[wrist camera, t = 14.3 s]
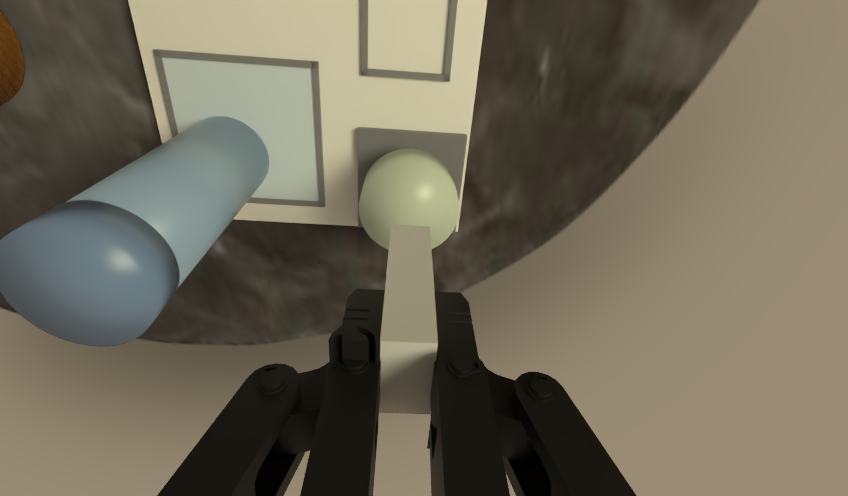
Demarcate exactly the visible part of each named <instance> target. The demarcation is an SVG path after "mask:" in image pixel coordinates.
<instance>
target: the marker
mask: <svg viewBox="0 0 848 496" xmlns="http://www.w3.org/2000/svg"><path fill="white" fill-rule="evenodd" d="M268 170H269V156H268V152H267V149H266V147H265V144H264V143H263V141H262V139H261V138H260V137H259V135H258V134H257V133H256V132H255V131H254V130H253V129H252V128H250V127H249V126H248V125H246V124H245V123H243V122H241V121H239V120H237V119H234V118H230V117H225V116H214V117H209V118H206V119H204V120H202V121H200V122H198V123H197V124H195V125H193V126H192V127H190V128H188V129H187V130H185V131H183V132H182V133H180V134H178V135H177V136H175V137H173V138H172V139H170V140H168V141H167V142H165V143H163V144H162V145H160V146H158V147H157V148H155V149H153V150H151V151H150V152H148V153H146V154H145V155H143V156H141V157H140V158H138V159H136V160H135V161H133V162H131V163H130V164H128V165H126V166H125V167H123V168H121V169H120V170H118V171H116V172H115V173H113V174H111V175H110V176H108V177H106V178H105V179H103V180H101V181H100V182H98V183H96V184H95V185H93V186H91V187H90V188H88V189H86V190H85V191H83V192H81V193H80V194H78V195H76V196H75V197H73V198H71V199H70V200H68V201H66V202H65V203H61V204H59V205H57V206H55V207H53V208H51V209H49V210H48V211H46V212H44V213H43V214H41V215H39V216H38V217H36V218H34V219H33V220H31V221H29V222H27V223H26V224H24V225H22V226H21V227H19V228H17V229H16V230H14V231H12V232H11V233H9V234H8V235H6V236H5V237H3V238H2V240H1V241H0V292H1V294H2V295H3V297H4V298H5V299H6V301H7V302H8V303H9V304H10V305H11V306H12V307H13V308H14V310H15V311H17V312H18V313H19V314H20V315H21V316H22V317H24V318H25V319H26V320H28V321H29V322H30V323H32V324H34V325H35V326H37V327H38V328H40V329H42V330H43V331H45V332H47V333H49V334H51V335H54V336H56V337H58V338H61V339H64V340H67V341H70V342H74V343H78V344H83V345H88V346H115V345H120V344H125V343H127V342H130V341H132V340H134V339H136V338H138V337H139V336H141V335H142V334H143V333H144V332H145V331H146V330H147V329H148V328H149V326H150V325H151V324H152V323H153V321H154V320H155V319H156V318H157V316H158V315H159V314H160V313H161V311H162V310H163V309H164V307H165V306H166V305H167V304H168V302H169V301H170V300H171V299H172V297H173V296H174V294H175V293H176V291H177V289H178V287H179V286H180V285H181V284H182V282H183V281H184V280H185V279H186V277H187V276H188V275H189V274H190V272H191V271H192V270H193V269H194V267H195V266H196V265H197V264H198V262H199V261H200V260H201V259H202V257H203V256H204V255H205V254H206V252H207V251H208V250H209V249H210V247H211V246H212V245H213V244H214V242H215V241H216V240H217V239H218V237H219V236H220V235H221V234H222V232H223V231H224V230H225V229H226V227H227V226H228V225H229V224H230V222H231V221H232V220H233V219H234V217H235V216H236V215H237V213H238V212H239V211H240V210H241V208H242V207H243V206H244V205H245V203H246V202H247V201H248V200H249V198H250V197H251V196H252V195H253V193H254V192H255V191H256V190H257V188H258V187H259V186H260V185H261V183H262V182H263V181H264V179H265V178H266V176H267V173H268Z"/></svg>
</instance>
